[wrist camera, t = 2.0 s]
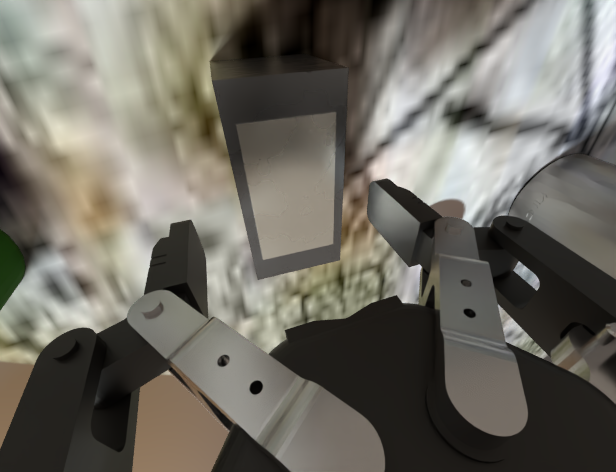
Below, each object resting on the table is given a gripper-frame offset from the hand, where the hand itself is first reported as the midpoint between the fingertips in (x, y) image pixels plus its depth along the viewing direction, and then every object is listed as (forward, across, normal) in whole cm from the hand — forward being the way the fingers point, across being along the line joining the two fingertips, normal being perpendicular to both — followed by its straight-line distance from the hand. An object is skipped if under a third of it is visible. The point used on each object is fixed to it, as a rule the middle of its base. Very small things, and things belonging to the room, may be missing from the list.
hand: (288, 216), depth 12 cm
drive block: (+7, -1, 0) cm, 7 cm away
